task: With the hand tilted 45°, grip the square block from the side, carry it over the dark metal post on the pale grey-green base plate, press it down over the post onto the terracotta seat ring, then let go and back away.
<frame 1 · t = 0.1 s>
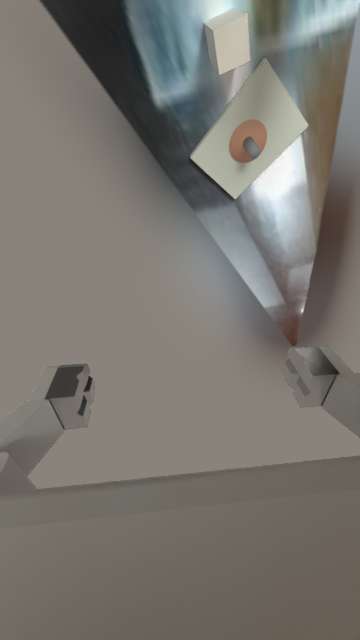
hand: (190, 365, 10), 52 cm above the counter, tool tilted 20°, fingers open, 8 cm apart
square block: (221, 37, 38), on the counter
base plate: (246, 139, 50), on the counter
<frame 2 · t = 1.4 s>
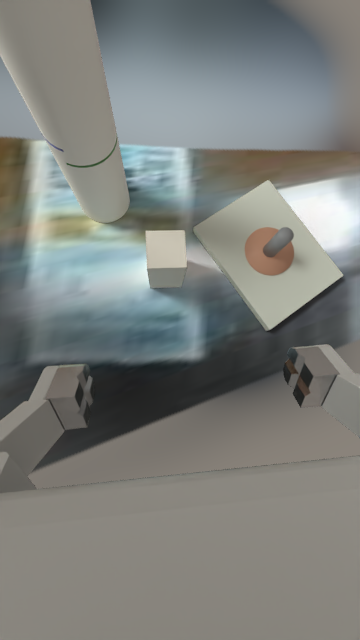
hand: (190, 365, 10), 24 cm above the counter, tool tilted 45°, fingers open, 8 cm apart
square block: (165, 272, 36), on the counter
base plate: (265, 254, 38), on the counter
cylindrical container: (105, 200, 37), on the counter
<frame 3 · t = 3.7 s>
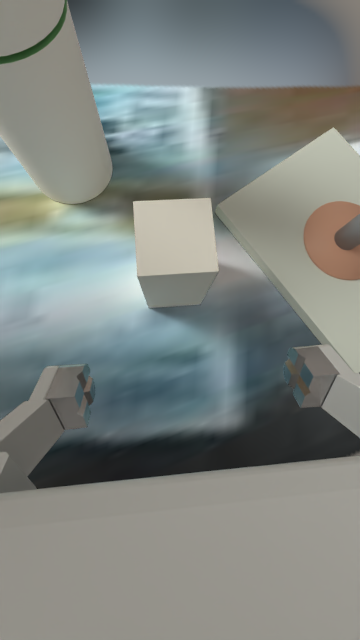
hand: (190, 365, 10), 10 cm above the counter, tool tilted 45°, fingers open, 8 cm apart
square block: (172, 281, 22), on the counter
base plate: (335, 246, 23), on the counter
cylindrical container: (74, 170, 23), on the counter
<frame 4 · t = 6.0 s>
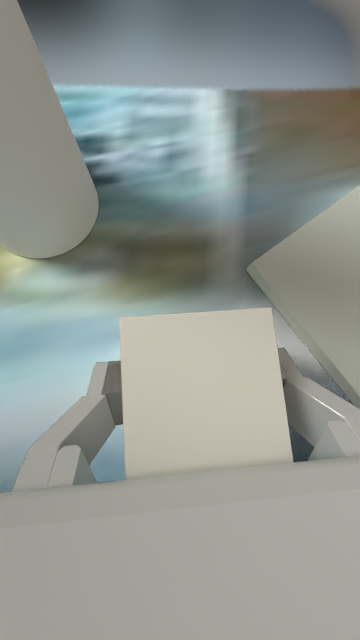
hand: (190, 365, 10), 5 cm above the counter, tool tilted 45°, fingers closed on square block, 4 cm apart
square block: (185, 376, 15), on the counter, touching gripper
cylindrical container: (43, 207, 16), on the counter
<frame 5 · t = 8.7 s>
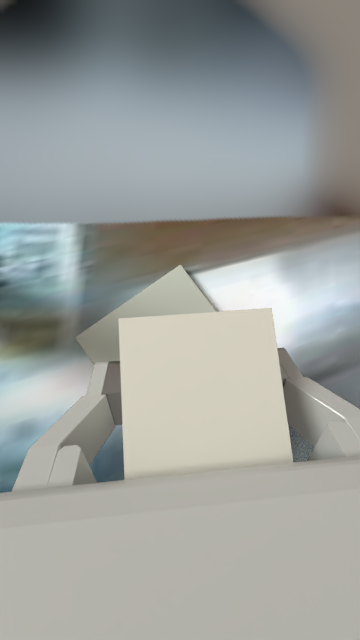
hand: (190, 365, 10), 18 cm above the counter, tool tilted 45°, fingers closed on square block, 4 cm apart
square block: (185, 376, 15), point 14 cm above the counter, touching gripper
base plate: (177, 366, 28), on the counter
when the fingers open (7 cm above the counter, at t = 11.5 s): square block stays where it is, resting on base plate.
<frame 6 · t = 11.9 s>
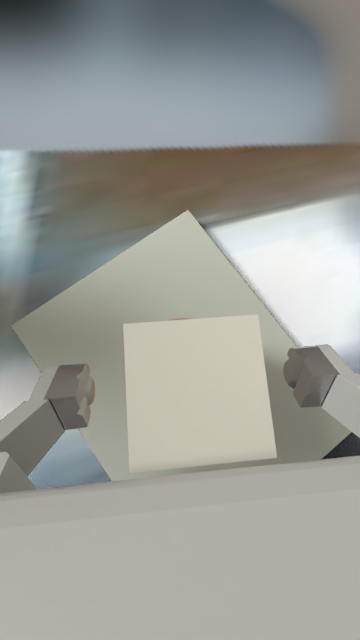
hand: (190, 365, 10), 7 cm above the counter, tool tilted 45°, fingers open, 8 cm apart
square block: (183, 375, 16), point 1 cm above the counter, touching base plate
base plate: (183, 374, 17), on the counter
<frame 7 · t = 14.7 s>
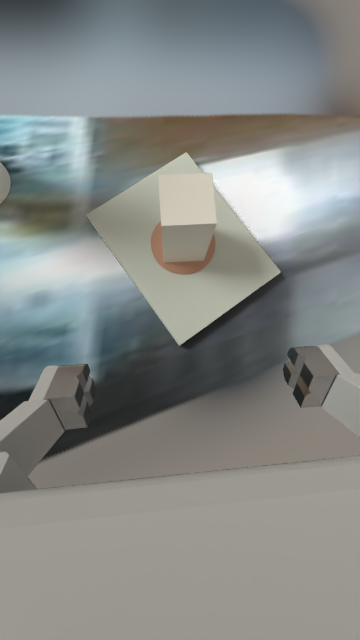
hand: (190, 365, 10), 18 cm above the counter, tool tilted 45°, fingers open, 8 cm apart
square block: (182, 242, 28), point 1 cm above the counter, touching base plate
base plate: (182, 247, 30), on the counter
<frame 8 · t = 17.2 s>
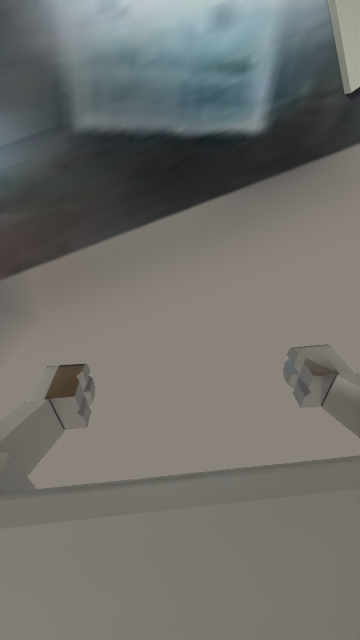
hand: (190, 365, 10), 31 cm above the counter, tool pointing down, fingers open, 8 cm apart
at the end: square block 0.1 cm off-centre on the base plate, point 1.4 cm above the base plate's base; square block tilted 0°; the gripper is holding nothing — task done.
